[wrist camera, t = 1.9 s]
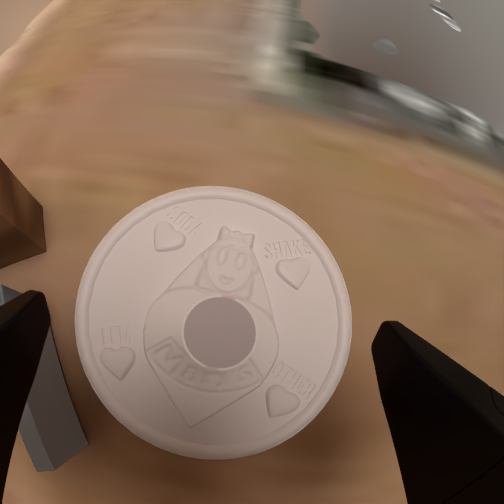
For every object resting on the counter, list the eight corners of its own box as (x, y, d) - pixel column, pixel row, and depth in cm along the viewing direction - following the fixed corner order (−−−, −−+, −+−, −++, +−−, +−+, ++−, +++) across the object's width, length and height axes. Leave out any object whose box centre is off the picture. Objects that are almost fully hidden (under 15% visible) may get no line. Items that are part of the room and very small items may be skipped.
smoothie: (132, 379, 14) (-93, 444, 1) (164, 262, 16) (88, 10, 3) (254, 410, 15) (442, 568, 2) (280, 292, 17) (482, 122, 4)
